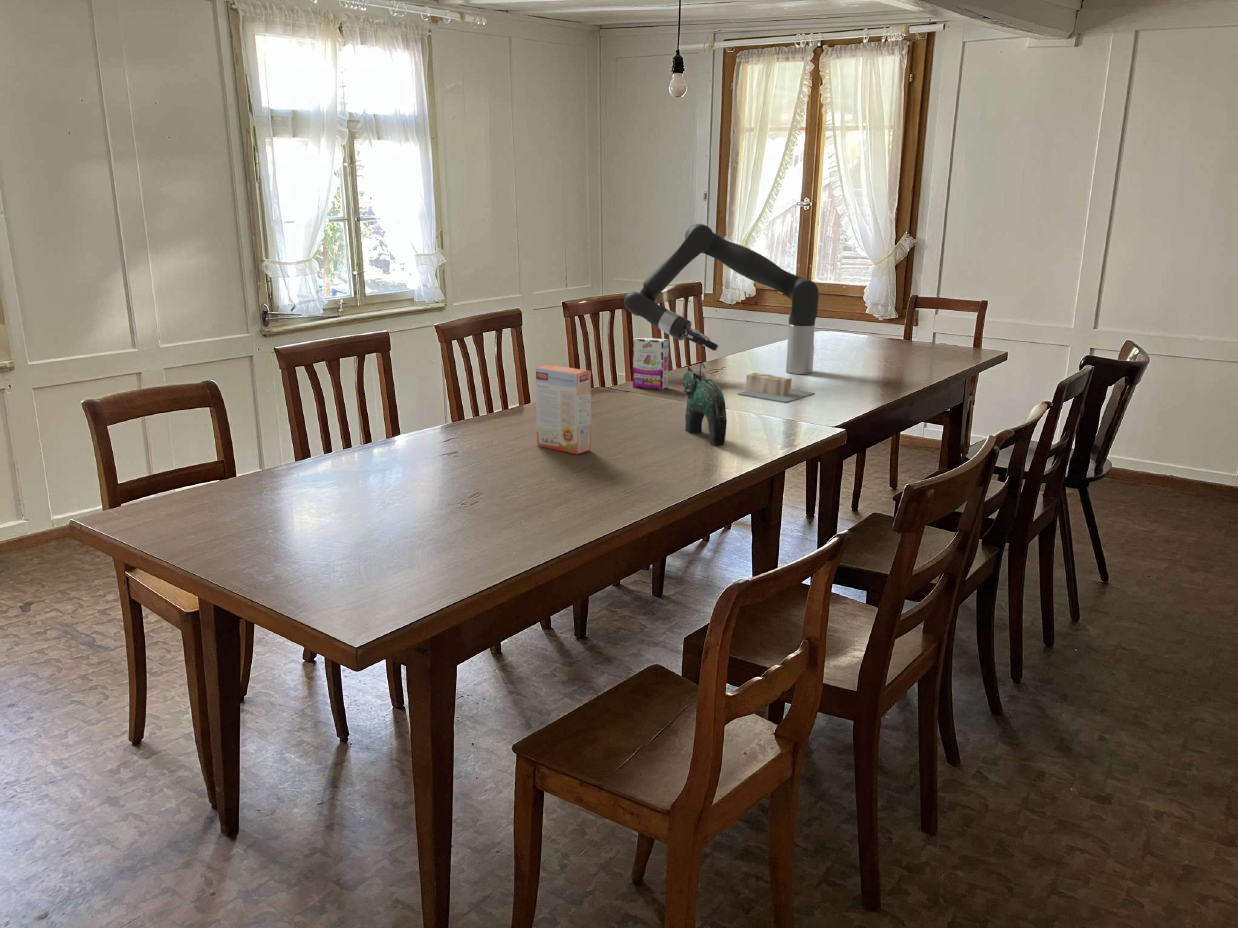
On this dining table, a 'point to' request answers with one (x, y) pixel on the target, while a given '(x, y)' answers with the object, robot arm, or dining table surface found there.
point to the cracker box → (563, 408)
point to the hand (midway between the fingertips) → (716, 348)
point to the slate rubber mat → (787, 398)
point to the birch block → (768, 384)
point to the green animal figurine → (704, 405)
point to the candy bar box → (650, 363)
